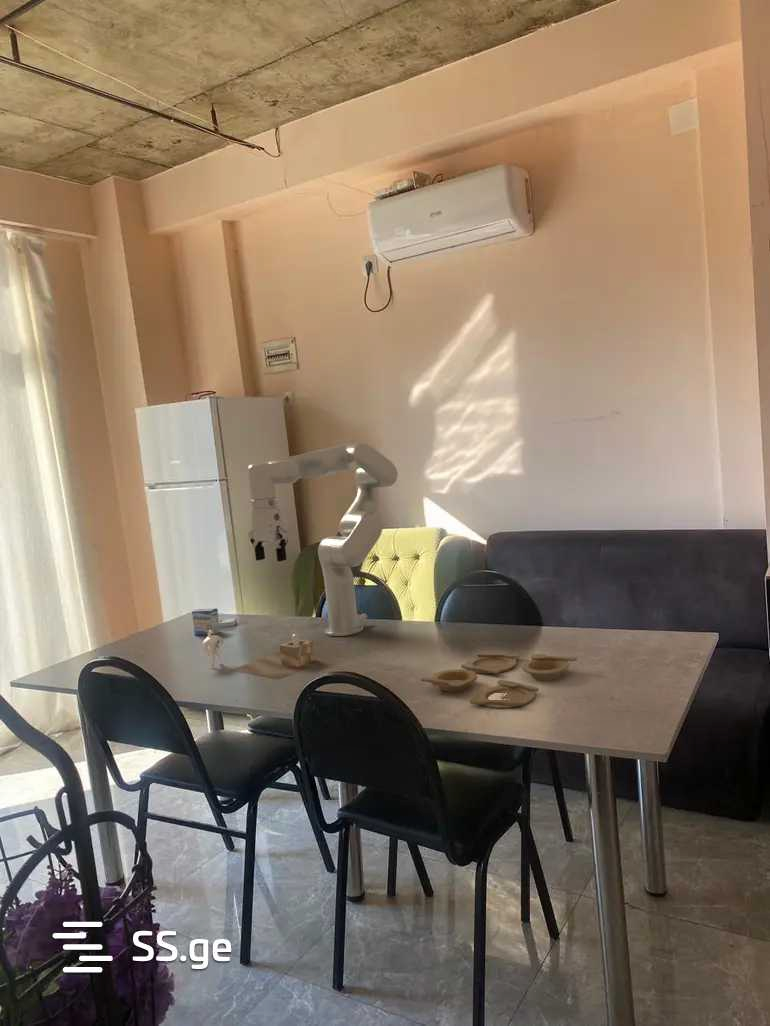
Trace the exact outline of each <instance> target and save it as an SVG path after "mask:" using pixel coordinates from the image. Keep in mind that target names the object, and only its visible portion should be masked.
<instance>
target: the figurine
mask: <svg viewBox="0 0 770 1026" xmlns="http://www.w3.org/2000/svg"><path fill="white" fill-rule="evenodd" d="M224 643H225V641H224V639H223V638H222V637H220V636H219V635H216V634H215V635H214V633H213V631H212V630H209V632H208V635H207V636H206V638H205V639H204V640H203V642H201V649H202V650H203V651H205V652H207V655H206V657H207V658H208V656H209V659H210V661H209V664H210V665H209V669H213V668H214V661H215V657H216V659H217V661H218V664H219V666H221V665H223V662H222V658H221V653H222V650H220V649H221V647H222V646H223V645H224Z"/></svg>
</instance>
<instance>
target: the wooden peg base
mask: <svg viewBox="0 0 770 1026" xmlns="http://www.w3.org/2000/svg"><path fill="white" fill-rule="evenodd" d="M291 639H292V640H291V641H293V646H297V645H300V644H299V639H300V636H299V633H293V634H291ZM324 661H326V659H325V658H324V659H323V658H318V657H315V660H314V661H312V662H309V663H307V664H304V665H302V666H300V667H294V666H288V665H282V663H281V654H280V651H277V652H275V653H273V654H272V653H271V654H270V655H266V656H265V657H262V658H259V659H256V660H254V661H251V662H248V663H246V664H243V665H240V666H239V667H236V668H232V669H230V671H233V672H237V673H240V674H241V673H242V674H246V675H247V674H248V675H253V676H257V677H263V678H268V679H272V680H273V679H274V680H281V679H284V678H285V677H288V676H291V675H292V674H295V673H299V672H300V671H302V670H305V669H307V668H310V667H312V666H314V665H317V664H319V663H321V662H324Z"/></svg>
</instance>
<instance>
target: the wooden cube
mask: <svg viewBox="0 0 770 1026" xmlns="http://www.w3.org/2000/svg"><path fill="white" fill-rule="evenodd" d="M299 644H300V645H297V646H293V640H290V641H288V642H285V643H282V644H280V645H279V652H280V654H281V663H282V665H288V666H294V667H300V666H302V665H304V664H307V663H309V662H312V661H314V660H315V658H316V656H315V650H314V642H313V640H307V639H300V638H299Z"/></svg>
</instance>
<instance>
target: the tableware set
mask: <svg viewBox="0 0 770 1026" xmlns="http://www.w3.org/2000/svg"><path fill="white" fill-rule="evenodd" d="M522 654H523V653H522V652H509V653H508V652H507V653H493V652H492V653H491V652H477V653H476V655H475V656H476V657H474V658H471V659H468V660H467V661H466V662H465V663H462V664H460V667H461V668H459V669H457V668H455V669H454V668H453V669H446V670H442V671H439V672H436V673H433V675H431V676H430V677H429V676H428V677H427V676H423V677H420V681H421V682H424V683H430V684H431V685H434V686H435V687H439V689H440V690H441V691H443V690H444V691H443V692H446V691H448V693H456V692H457V691H458V692H462V691H465V690H467V689H468V688H469V686H470V685H471V684H473V683H474V682H476V681H477V680H478V674H485V675H487V674H488V675H489V674H496V675H498V674H500V673H502V672H503V673H504V672H507V671H510V670H512V669H514V668H516V666H517V665H518V664H517V661H518V660H517V659H518V658H520V657H521V656H522ZM529 657H530V660H528V661H525V662H523V663H522V664H521V670H522V671H523V672H525V673H526V674H530V676H531V678H532V679H534V680H538V681H552V679H553V680H557V679H558V677H559V678H560V677H561V675H562V673H563V672H564V671H567V670H568V669H569V667H570V663H569V662H577V660H578V657H577V656H560V655H559V656H558V655H546V654H543V653H535V654H532V655H530V656H529ZM516 658H517V659H516ZM556 678H557V679H556ZM496 683H497V684H498V685H496V686H492V687H491V686H490V687H488V688H485V689H482V690H480V691H479V693H477V694H476V697H472V698H471V699H470V701H469V704H472V705H482V706H485V707H487V708H492V709H508V708H509V709H510V708H517V707H520V706H524V705H527V704H529V703H531V702H532V701H533V700H534V699H535V697H536V693H537V692H539V691H540V689H539V687H537V686H534V685H529V684H523V683H520V682H515V681H510V680H506V679H502V678H501V679H498V680H497V681H496ZM535 692H536V693H535ZM494 693H501V694H502V693H504V694H505V693H507V694H506V695H505V696H503V695H504V694H503V695H502V696H503V697H502V696H501V697H502V698H501V697H500V698H501V699H503V700H489V699H488V697H489V696H490V695H492V694H494ZM504 699H506V700H504ZM508 699H509V700H508Z"/></svg>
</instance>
